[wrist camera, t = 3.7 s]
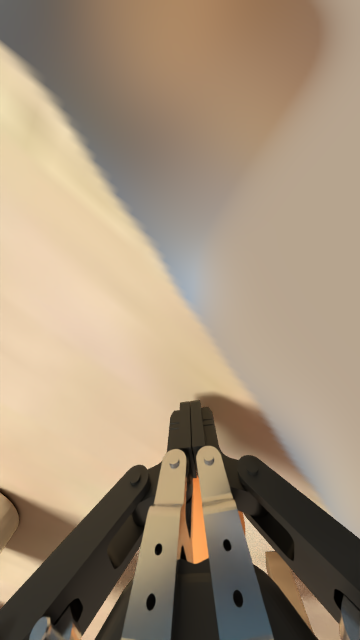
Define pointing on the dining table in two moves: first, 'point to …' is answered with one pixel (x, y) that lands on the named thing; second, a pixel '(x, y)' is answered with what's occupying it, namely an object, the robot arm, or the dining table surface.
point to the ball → (201, 525)
